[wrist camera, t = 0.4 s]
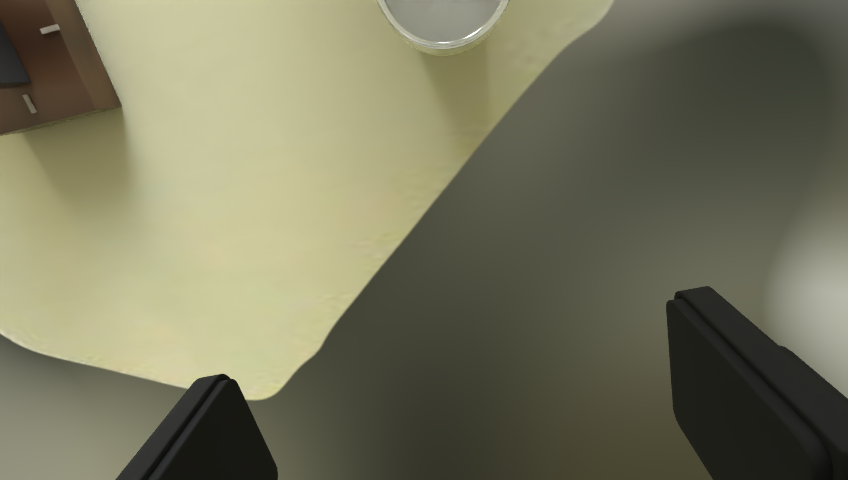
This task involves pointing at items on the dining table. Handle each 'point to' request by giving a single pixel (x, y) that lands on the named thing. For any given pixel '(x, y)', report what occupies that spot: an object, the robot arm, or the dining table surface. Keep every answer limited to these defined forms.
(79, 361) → the dining table surface
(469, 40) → the beer glass
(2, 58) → the knob
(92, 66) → the console
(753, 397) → the robot arm
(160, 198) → the dining table surface
